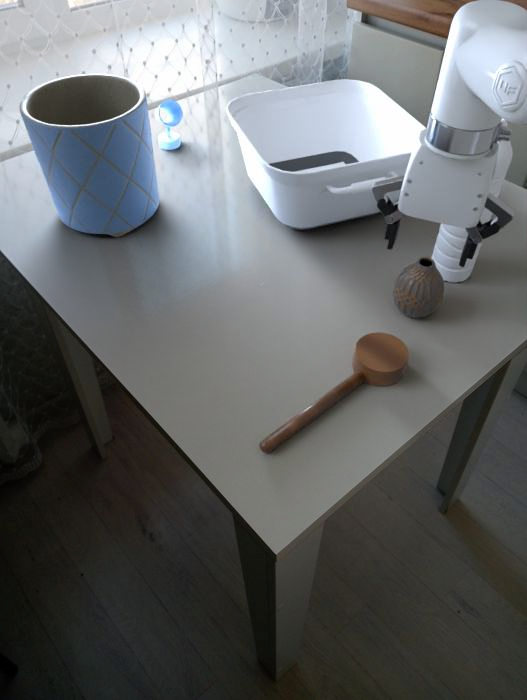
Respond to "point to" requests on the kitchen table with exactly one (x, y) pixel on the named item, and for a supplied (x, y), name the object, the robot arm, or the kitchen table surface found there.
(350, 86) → the white plastic wash basin
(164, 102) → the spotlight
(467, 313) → the kitchen table surface
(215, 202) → the kitchen table surface
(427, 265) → the vase
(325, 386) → the kitchen table surface
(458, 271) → the water bottle
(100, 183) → the planter
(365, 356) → the ladle
